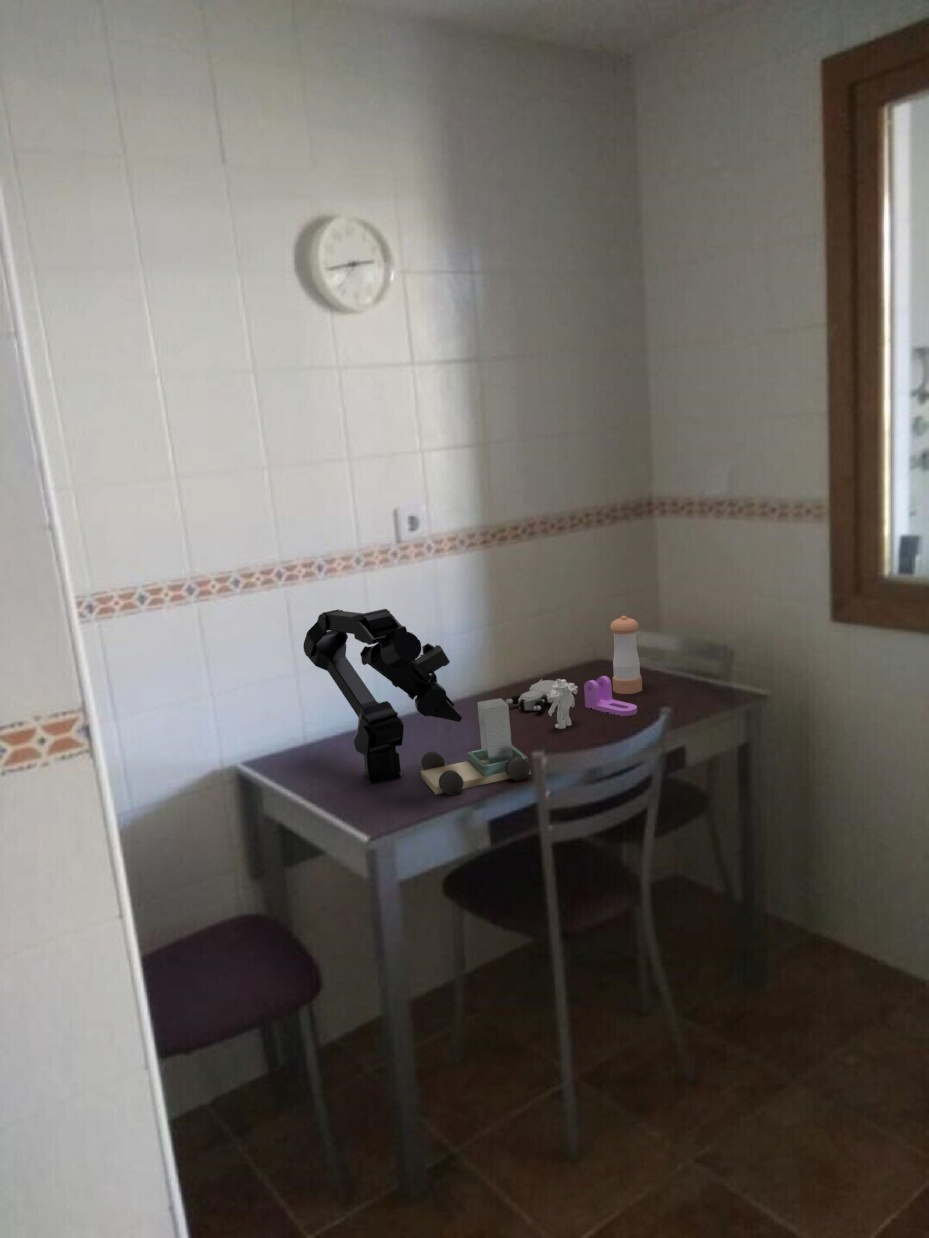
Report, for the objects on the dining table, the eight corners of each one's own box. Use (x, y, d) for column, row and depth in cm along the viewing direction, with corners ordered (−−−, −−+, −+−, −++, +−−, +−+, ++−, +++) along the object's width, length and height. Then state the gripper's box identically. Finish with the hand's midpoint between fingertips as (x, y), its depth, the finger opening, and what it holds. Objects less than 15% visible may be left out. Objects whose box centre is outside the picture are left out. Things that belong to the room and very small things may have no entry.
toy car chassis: (439, 798, 183) (436, 776, 182) (418, 774, 196) (416, 754, 195) (534, 777, 189) (532, 756, 188) (508, 755, 202) (507, 736, 201)
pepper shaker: (611, 694, 238) (606, 619, 234) (615, 685, 245) (611, 613, 241) (640, 694, 236) (636, 619, 232) (643, 685, 243) (640, 612, 239)
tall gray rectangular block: (489, 770, 191) (484, 708, 188) (482, 762, 196) (477, 702, 193) (513, 766, 192) (508, 704, 189) (505, 758, 197) (500, 698, 194)
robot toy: (540, 721, 226) (581, 700, 235) (537, 703, 224) (579, 683, 234) (503, 712, 235) (544, 692, 244) (501, 695, 233) (542, 675, 243)
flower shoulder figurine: (557, 733, 214) (554, 681, 211) (544, 729, 216) (541, 679, 214) (583, 721, 220) (580, 671, 217) (570, 718, 222) (566, 669, 220)
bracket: (585, 707, 230) (583, 680, 228) (601, 702, 233) (599, 674, 232) (626, 718, 220) (624, 689, 218) (642, 711, 223) (640, 683, 222)
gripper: (428, 645, 178) (491, 694, 182) (416, 626, 196) (473, 670, 200) (391, 691, 178) (454, 739, 182) (382, 668, 196) (440, 711, 200)
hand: (456, 713), depth 191 cm, fingers open, 9 cm apart
